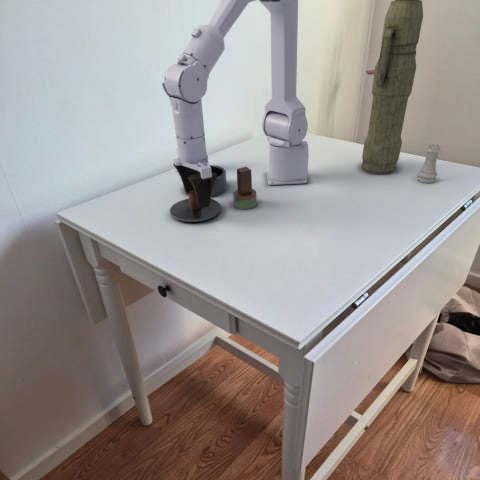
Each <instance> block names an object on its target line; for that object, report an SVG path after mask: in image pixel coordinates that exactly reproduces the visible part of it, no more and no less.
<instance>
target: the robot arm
mask: <svg viewBox="0 0 480 480" xmlns="http://www.w3.org/2000/svg"><path fill="white" fill-rule="evenodd" d="M256 1H257V0H220V2H219V3H218V5H217V7H216V9H215V11H214V13H213V15H212V16H211V18H210V21H209V22H208V24H203V25H199V26H198V28H193V30H192V32H191V34H190V35H191V39H190V40H189V42H188V44H187V45H186V47H185V49H184V50H183V52H182V53H180V54H179V55H178V57H177V63H174V64H171V65H170V66H169V67H168V68H167V69H166V71H165V74H164V78H163V82H162V83H161V85H162V89H163V91H164V93H165V95H166V96H167V97H168V98H169V102H170V107H171V110H172V118H173V119H172V120H173V125H174V134H175V140H176V145H177V148H176V152H177V158H175V159H173V167H174V168H175V170H176V171H177V173H178V175H179V178H180V180H181V182H182V185H183V189H184V188H185V191H186V193H187V194H186V193H185V194H186V195H187V196H188V192H189V191H192V190H194V191H195V194H196V198H197V202H198V205H199V207H200V208H204V207H208V206H209V205H210V199H212V197H211V193H212V188H213V185H214V183H215V181H216V179H217V174H216V173H214V172H212V173H211V167H210V166H209V165H210V163H209V155H208V154H207V143H206V134H205V132H206V131H205V123H204V121H205V120H204V112H203V102H202V101H203V100H202V98H203V97H205V95H206V94H207V90H208V80H209V79H210V74H211V72H212V71H213V69H214V67H215V66H216V64H217V62H218V61H219V59H220V58H221V56H222V54H223V53H224V52H225V39H224V38H225V37H226V36H227V34H228V33H229V31H230V30H231V29H232V27H233V26H234V24H235V23H236V22H237V20H238V19H239V18H240V16H241V14H243V12H244V10H245V9H246V8H247V6H248V5H249V3H252V2H256ZM258 1H259V2H260V3H261V4H262V6H263V7H264V8H265V9H267V11H268V12H269V13H270V57H271V58H270V67H271V70H270V73H271V98H270V100H268V102H266V104H265V105H264V115H263V117H262V118H263V119H262V123H261V127H262V132H263V134H264V135H265V137H266V141H267V142H268V143H269V144H268V170H267V171H266V177H267V184H268V185H269V186H279V185H294V184H295V185H299V184H307V183H308V171H309V168H308V167H309V143H308V141H307V140H304V139H305V138H306V136H307V132H308V129H309V128H308V127H309V125H308V119H307V116H306V106H305V105H304V104H303V103H302V102H301V100H300V99H299V98H298V96H297V80H298V79H297V78H298V77H297V76H298V75H297V74H298V29H299V28H298V27H299V25H298V24H299V0H258ZM185 191H184V192H185Z"/></svg>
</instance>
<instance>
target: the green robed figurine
mask: <svg viewBox="0 0 480 480" xmlns="http://www.w3.org/2000/svg"><path fill="white" fill-rule="evenodd" d="M423 7H424V6H423V0H392V1H390V4H389V7H388V8H387V11H386V14H385V17H384V22H383V29H382V37H381V43H380V44H381V46H380V51H379V56H378V57H379V58H378V59H377V62H376V64H375V67H374V72H373V80H372V86H371V95H372V101H371V108H370V115H369V122H368V129H367V136H366V137H365V140H364V141H363V149H362V154H361V155H362V156H361V159H362V163H361V168H360V169H361V171H363V172H365V173H367V174H371V175H381V176H383V175H385V176H386V175H391V174H393V173H395V172H396V170H397V164H398V162H399V159H400V154H401V150H402V149H401V148H402V144H403V141H402V132H403V127H404V121H405V117H406V111H407V106H408V101H409V98H410V96H411V94H412V93H413V92H412V91H413V86H414V81H415V77H416V71H417V59H416V55H417V45H418V44H419V39H420V35H421V29H422V25H423V19H424V8H423Z"/></svg>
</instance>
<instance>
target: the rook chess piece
mask: <svg viewBox="0 0 480 480" xmlns="http://www.w3.org/2000/svg"><path fill="white" fill-rule="evenodd" d="M425 151H426V155H425V156H424V157H425V158H424V159H425V160H424V162H423V165H422V167H421V168H420V169H419V171H418V172H417V176H416V179H417V181H418V182H420V183H425V184H433V183H434V182H435V181H436V180H437V176H438V173H437V169H436V166H437V160H438V159H439V156H438V155H439V154H440V153H441V151H442V150H441V145H439V144H436V145H435V144H434V143H432V144H431V143H430V144H428V145H427V148H426V149H425Z"/></svg>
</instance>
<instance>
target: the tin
mask: <svg viewBox="0 0 480 480" xmlns="http://www.w3.org/2000/svg"><path fill="white" fill-rule="evenodd" d="M209 166H210V167H211V173H212V172H214V173H216V174H217V179H216V181H215V183H214V185H213V188H212V193H211V198H212V197H216V196H219V195H221V194H224V192H226V190H227V187H228V185H227V184H228V183H227V171H226V169H225V168H224V167H222V166H219V165H215V164H213V165H212V164H209ZM183 191H184V193H185V194H186V195H187V193H186V191H185V188H184V187H183Z"/></svg>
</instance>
